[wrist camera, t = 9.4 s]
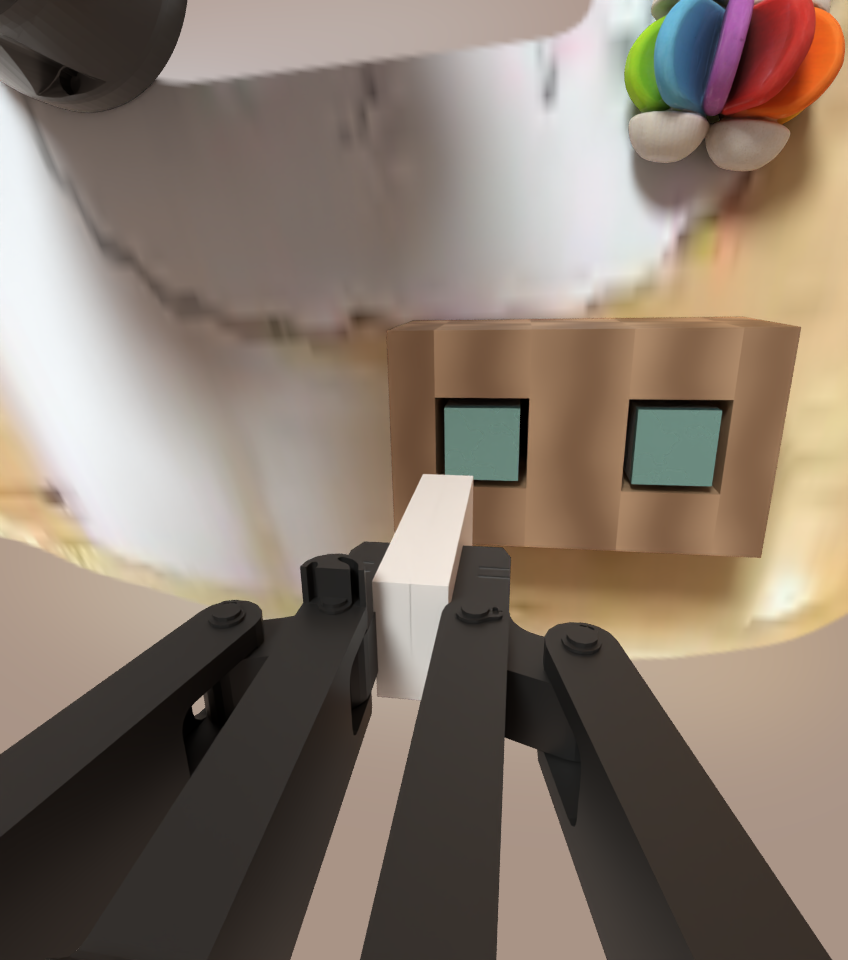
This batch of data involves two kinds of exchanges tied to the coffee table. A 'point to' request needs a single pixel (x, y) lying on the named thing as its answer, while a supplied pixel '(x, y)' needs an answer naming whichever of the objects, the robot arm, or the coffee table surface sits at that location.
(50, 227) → the coffee table surface
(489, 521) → the socket block
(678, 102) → the rainbow disc car
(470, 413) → the peg
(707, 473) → the peg
